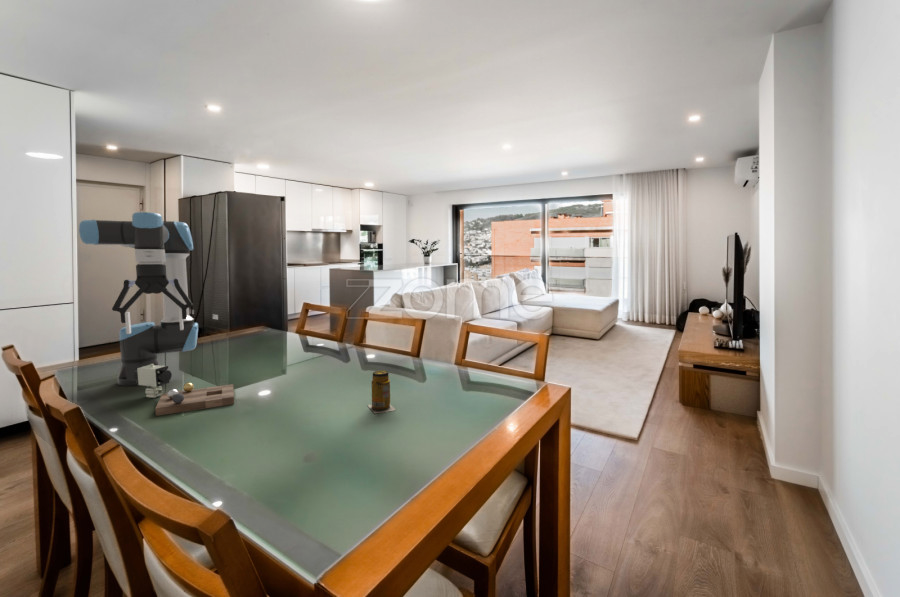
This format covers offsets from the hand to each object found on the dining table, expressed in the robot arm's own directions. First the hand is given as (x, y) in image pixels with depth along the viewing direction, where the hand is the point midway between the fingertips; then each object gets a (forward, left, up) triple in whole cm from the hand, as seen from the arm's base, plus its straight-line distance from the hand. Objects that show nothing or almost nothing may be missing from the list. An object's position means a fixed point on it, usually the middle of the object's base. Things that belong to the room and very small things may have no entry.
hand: (156, 331), depth 129 cm
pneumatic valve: (-22, -5, -27) cm, 35 cm away
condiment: (+29, +63, -27) cm, 75 cm away
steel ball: (-7, +2, -23) cm, 24 cm away
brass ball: (-13, +6, -23) cm, 27 cm away
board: (-7, +9, -27) cm, 29 cm away
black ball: (-1, +4, -23) cm, 23 cm away
